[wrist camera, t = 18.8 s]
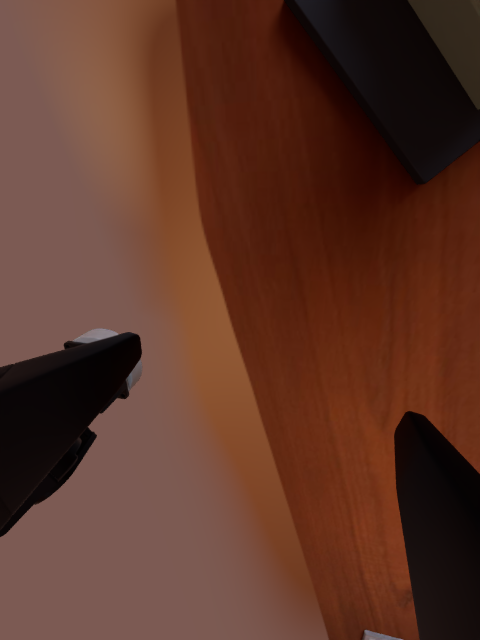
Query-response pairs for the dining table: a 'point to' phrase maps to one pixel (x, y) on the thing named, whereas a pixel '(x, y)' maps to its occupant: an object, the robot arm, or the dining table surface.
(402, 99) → the stepped rectangular base
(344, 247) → the dining table surface
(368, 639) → the car cutout
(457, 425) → the dining table surface
